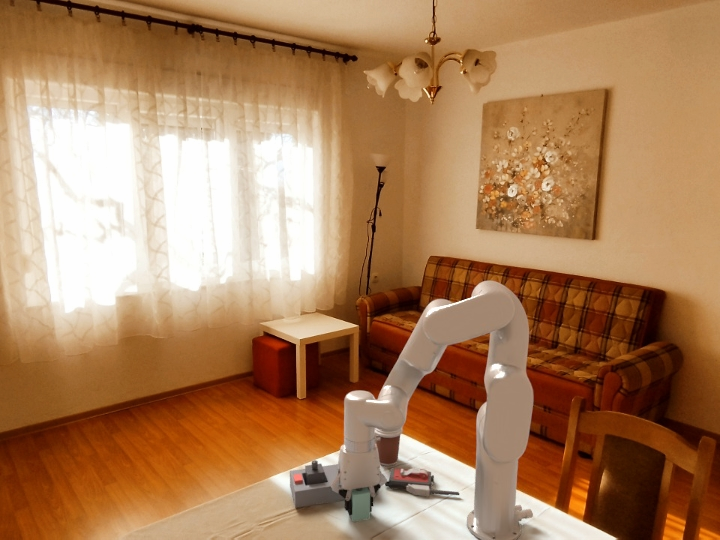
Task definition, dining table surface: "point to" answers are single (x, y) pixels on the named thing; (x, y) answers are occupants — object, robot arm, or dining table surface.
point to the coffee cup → (388, 446)
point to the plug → (360, 504)
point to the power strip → (314, 485)
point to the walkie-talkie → (414, 482)
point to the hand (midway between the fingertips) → (358, 509)
